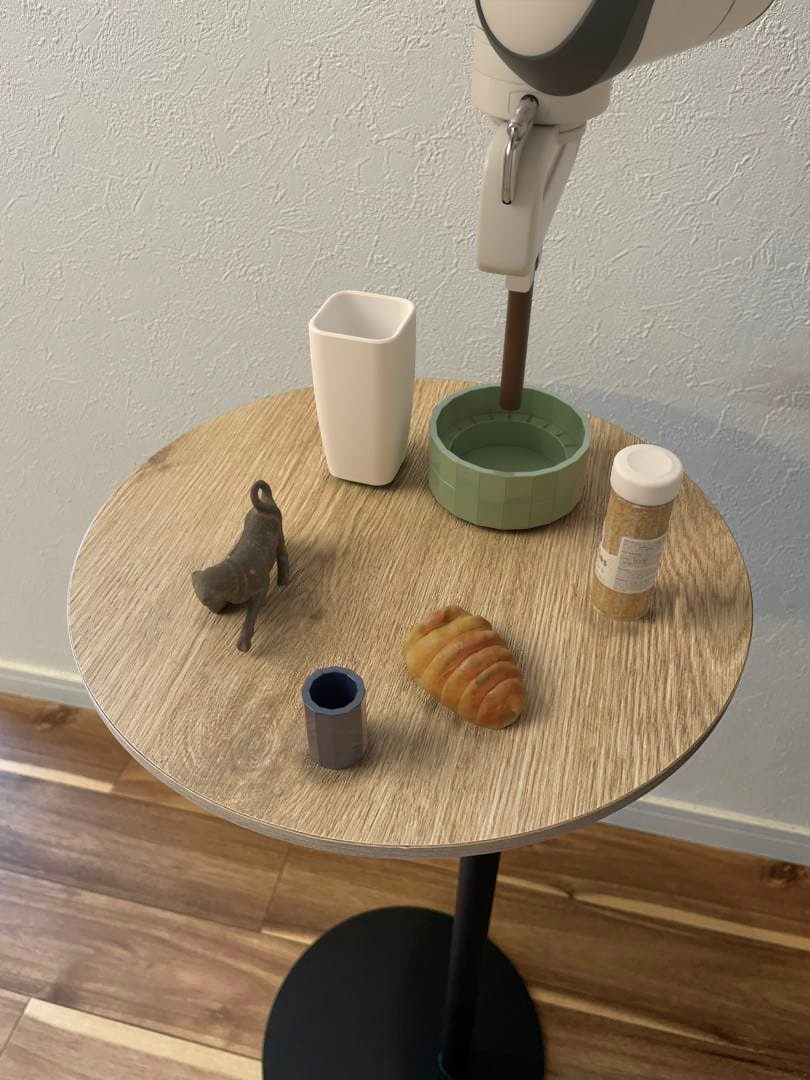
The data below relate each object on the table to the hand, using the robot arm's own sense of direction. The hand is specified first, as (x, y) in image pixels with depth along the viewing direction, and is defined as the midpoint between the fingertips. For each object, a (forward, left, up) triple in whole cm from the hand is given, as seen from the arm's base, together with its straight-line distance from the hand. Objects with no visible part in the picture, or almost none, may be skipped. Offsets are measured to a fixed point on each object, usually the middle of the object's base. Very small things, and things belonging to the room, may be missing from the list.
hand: (523, 277), depth 70 cm
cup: (+12, +1, -19) cm, 23 cm away
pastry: (-2, +22, -19) cm, 29 cm away
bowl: (0, 0, -19) cm, 19 cm away
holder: (+5, +30, -19) cm, 36 cm away
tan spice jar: (-11, +12, -19) cm, 25 cm away
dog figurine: (+16, +19, -19) cm, 31 cm away
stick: (0, 0, -11) cm, 11 cm away
